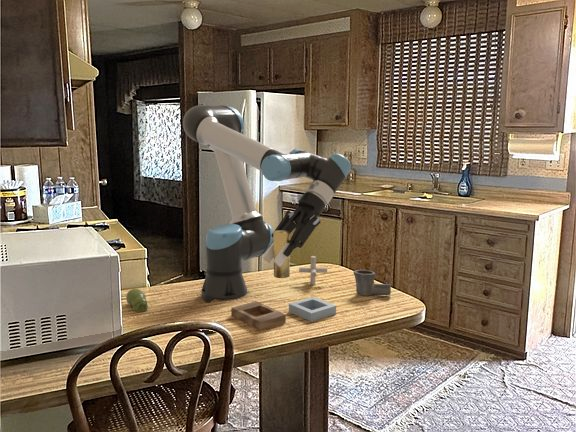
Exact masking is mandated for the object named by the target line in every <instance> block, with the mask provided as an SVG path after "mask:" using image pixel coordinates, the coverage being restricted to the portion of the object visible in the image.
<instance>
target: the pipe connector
mask: <svg viewBox="0 0 576 432" xmlns="http://www.w3.org/2000/svg"><path fill="white" fill-rule="evenodd" d="M298 273H305V274H306V273H310V279H309V280H310V282H309V283H310V284H309V285H312V286H313V285H316V277H317V274H318V273H319V274H328V267H317V256H316V255H315V256H314V255H311V256H310V267H298Z"/></svg>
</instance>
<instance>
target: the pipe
mask: <svg viewBox="0 0 576 432" xmlns="http://www.w3.org/2000/svg"><path fill="white" fill-rule="evenodd" d="M352 273H353V275H354V279H355V287H356V288H355V290H356V291H355V292H356V294H358V295H360V296H364V297H365V296H372V295H373V296H390V295H391V294H392V293H391V292H392V291H391V288H392V286H391V284H390V283H375V276H376V273H375V272H374V271H372V270H367V269H356V270H353V271H352Z"/></svg>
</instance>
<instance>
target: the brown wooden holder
mask: <svg viewBox="0 0 576 432" xmlns="http://www.w3.org/2000/svg"><path fill="white" fill-rule="evenodd" d="M230 311H231V312H230V313H231V314H230V315H231V317H233V318H234V319H237V321H241V322H242V323H244V324H247V325H248V326H250V327H252V328H254V329H256V330H258V331H260V332H261V331H264V330H265V331H266V330H268V329H272V328H274V327H277V326H280V325H283V324H286V322H287V320H286V319H287V318H286V317H287V315H286V314H285V313H284V312H281V311H279V310H277V309H274V308H272V307H270V306H269V305H266V304H264V303H261V302H258V300H257V301H256V300H255V301H252V302H248V303H244V304H240V305H236V306H233V307H232V306H231V309H230Z"/></svg>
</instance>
